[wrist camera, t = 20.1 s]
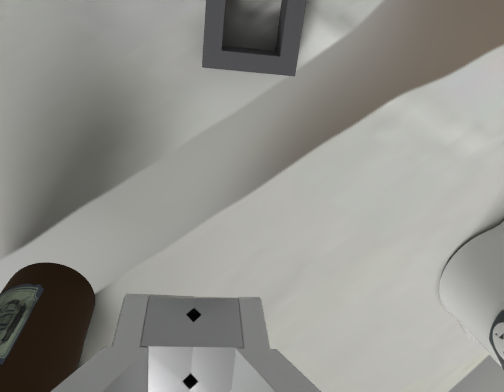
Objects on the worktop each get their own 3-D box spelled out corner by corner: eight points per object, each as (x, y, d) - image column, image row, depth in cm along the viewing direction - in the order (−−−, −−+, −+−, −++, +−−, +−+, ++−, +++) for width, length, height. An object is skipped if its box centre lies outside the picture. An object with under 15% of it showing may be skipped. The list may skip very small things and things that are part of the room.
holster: (302, -26, 38) (310, -26, 36) (289, 69, 42) (295, 76, 39) (208, -38, 37) (208, -39, 35) (202, 61, 41) (202, 67, 38)
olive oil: (119, 310, 52) (55, 562, 30) (42, 345, 53) (-76, 612, 31) (63, 241, 47) (-63, 478, 25) (-20, 281, 49) (-212, 541, 26)
